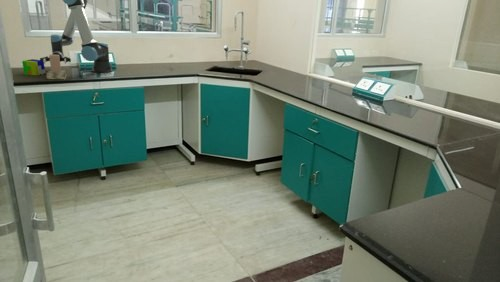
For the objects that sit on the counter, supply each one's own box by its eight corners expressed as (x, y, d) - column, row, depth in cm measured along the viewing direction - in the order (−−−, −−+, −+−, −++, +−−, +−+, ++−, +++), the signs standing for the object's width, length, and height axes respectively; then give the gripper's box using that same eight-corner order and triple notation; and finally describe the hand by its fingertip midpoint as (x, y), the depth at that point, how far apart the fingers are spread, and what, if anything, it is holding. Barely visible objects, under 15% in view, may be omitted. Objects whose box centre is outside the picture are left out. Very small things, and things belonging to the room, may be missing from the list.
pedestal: (66, 76, 286) (65, 70, 284) (65, 79, 276) (64, 73, 274) (48, 76, 282) (48, 70, 280) (47, 79, 271) (46, 73, 270)
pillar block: (61, 70, 281) (59, 54, 277) (60, 72, 276) (58, 55, 271) (52, 70, 279) (50, 54, 274) (51, 72, 274) (49, 55, 269)
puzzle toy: (45, 73, 291) (43, 60, 288) (35, 75, 282) (34, 62, 278) (33, 72, 293) (32, 59, 289) (24, 74, 284) (22, 61, 280)
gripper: (75, 62, 296) (74, 66, 278) (39, 62, 287) (35, 67, 269) (74, 52, 293) (73, 56, 275) (38, 52, 284) (34, 56, 266)
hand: (54, 61), depth 272 cm, fingers open, 13 cm apart
